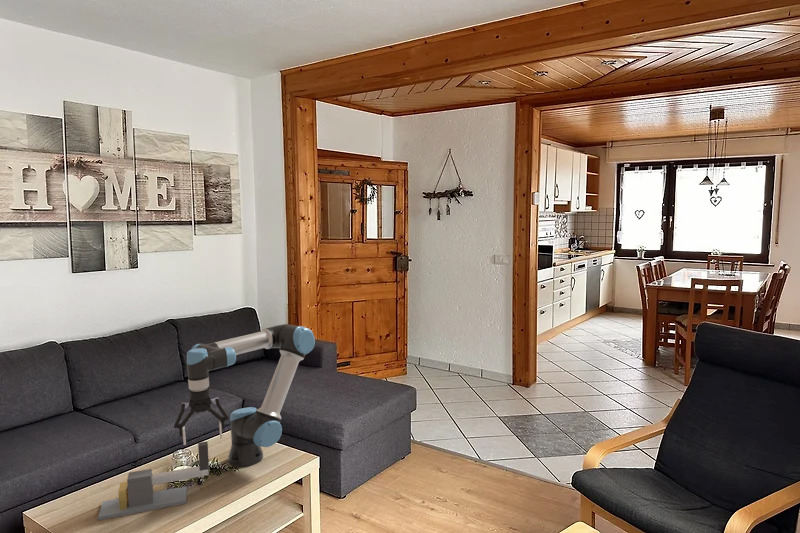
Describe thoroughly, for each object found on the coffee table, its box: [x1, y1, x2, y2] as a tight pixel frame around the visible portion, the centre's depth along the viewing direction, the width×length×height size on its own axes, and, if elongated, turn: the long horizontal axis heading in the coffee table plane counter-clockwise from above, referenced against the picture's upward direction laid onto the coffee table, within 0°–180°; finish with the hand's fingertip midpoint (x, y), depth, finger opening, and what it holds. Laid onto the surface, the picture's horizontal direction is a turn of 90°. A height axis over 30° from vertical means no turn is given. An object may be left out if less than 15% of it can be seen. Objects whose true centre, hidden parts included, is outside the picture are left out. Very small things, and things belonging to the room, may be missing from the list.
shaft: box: [151, 441, 210, 486], centre depth 212 cm, size 26×4×12 cm, turn 111°
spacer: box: [117, 481, 129, 510], centre depth 207 cm, size 2×7×7 cm, turn 21°
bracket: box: [97, 468, 188, 521], centre depth 209 cm, size 30×12×12 cm, turn 111°
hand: (203, 440), depth 216 cm, fingers open, 13 cm apart
